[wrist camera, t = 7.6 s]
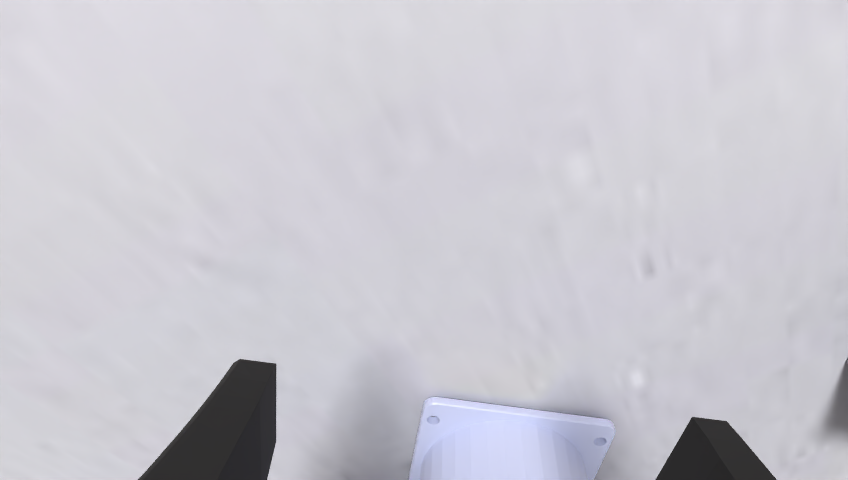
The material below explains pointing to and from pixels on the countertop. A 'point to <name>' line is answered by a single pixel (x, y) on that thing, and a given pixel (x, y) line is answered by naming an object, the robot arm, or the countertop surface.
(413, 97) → the countertop surface
